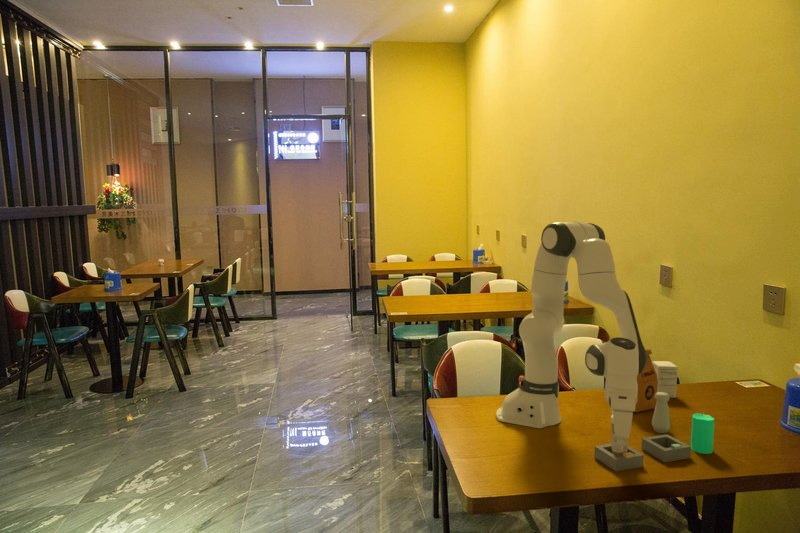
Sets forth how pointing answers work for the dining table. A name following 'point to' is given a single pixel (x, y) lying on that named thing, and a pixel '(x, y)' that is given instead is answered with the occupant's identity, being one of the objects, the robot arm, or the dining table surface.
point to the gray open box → (619, 458)
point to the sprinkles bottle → (616, 449)
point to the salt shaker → (661, 413)
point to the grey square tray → (666, 448)
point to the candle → (702, 433)
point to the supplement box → (666, 377)
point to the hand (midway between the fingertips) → (619, 440)
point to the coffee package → (647, 386)
